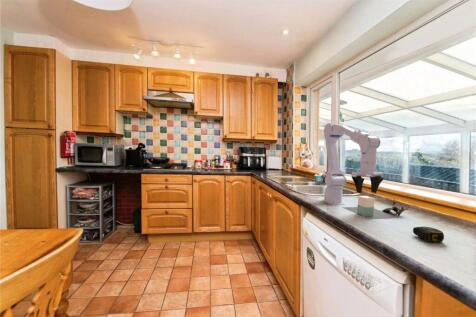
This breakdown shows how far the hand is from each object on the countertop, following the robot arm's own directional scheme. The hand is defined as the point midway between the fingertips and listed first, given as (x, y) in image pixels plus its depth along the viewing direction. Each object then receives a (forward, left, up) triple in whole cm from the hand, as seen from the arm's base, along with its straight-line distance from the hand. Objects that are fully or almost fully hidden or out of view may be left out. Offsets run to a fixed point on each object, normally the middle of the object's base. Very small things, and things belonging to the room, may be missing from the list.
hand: (366, 192), depth 97 cm
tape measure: (+26, +1, -11) cm, 29 cm away
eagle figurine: (-1, +16, -11) cm, 19 cm away
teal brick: (0, 0, -10) cm, 10 cm away
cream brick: (0, 0, -6) cm, 6 cm away
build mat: (-3, +5, -10) cm, 12 cm away
